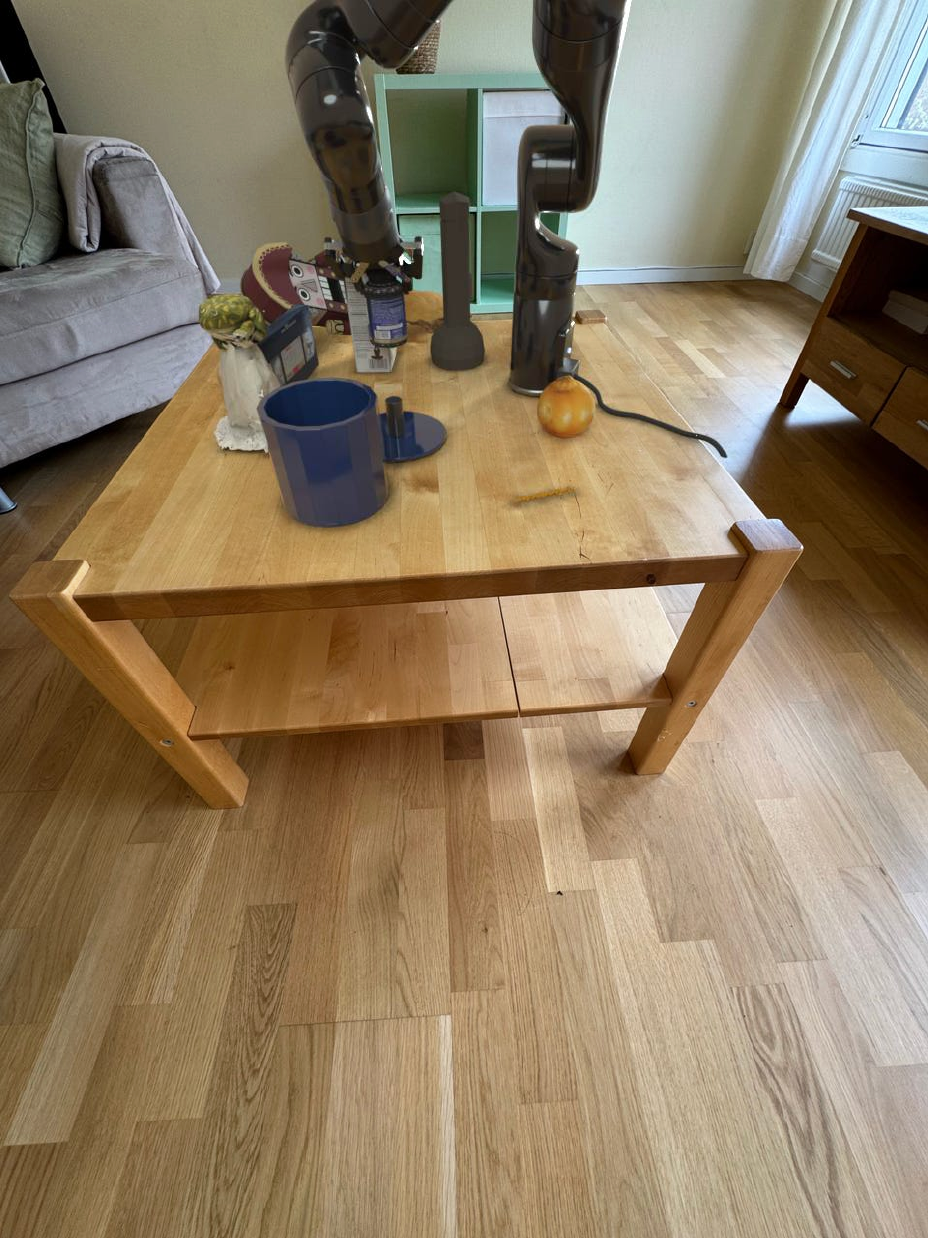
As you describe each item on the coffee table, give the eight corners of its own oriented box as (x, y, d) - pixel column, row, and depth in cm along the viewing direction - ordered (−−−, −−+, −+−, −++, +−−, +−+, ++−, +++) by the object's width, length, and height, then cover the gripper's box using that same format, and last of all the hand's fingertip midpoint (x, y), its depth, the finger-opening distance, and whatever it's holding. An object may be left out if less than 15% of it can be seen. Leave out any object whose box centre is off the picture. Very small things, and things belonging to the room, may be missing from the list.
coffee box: (363, 353, 107) (350, 254, 95) (397, 353, 107) (388, 253, 95) (356, 373, 100) (341, 269, 89) (392, 373, 100) (381, 269, 89)
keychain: (574, 490, 72) (571, 494, 73) (571, 483, 72) (568, 487, 73) (516, 502, 70) (515, 506, 71) (514, 495, 70) (512, 499, 71)
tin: (405, 479, 75) (396, 386, 67) (357, 536, 67) (339, 438, 58) (319, 462, 79) (299, 371, 70) (263, 514, 70) (232, 418, 61)
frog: (199, 436, 84) (148, 300, 71) (270, 405, 91) (236, 276, 78) (247, 462, 79) (201, 320, 66) (319, 427, 86) (291, 292, 72)
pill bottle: (415, 341, 92) (410, 263, 84) (387, 352, 89) (379, 272, 81) (390, 332, 95) (383, 256, 87) (362, 342, 92) (351, 264, 84)
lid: (460, 426, 86) (459, 386, 82) (422, 473, 77) (419, 430, 72) (376, 412, 90) (371, 373, 85) (330, 455, 80) (322, 413, 76)
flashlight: (436, 373, 100) (491, 367, 101) (427, 198, 82) (494, 194, 83) (426, 353, 107) (477, 347, 108) (416, 187, 89) (477, 183, 90)
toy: (428, 315, 108) (282, 284, 88) (390, 351, 117) (251, 331, 97) (407, 245, 108) (257, 198, 88) (372, 287, 117) (229, 253, 97)
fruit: (517, 416, 83) (549, 373, 77) (544, 400, 88) (575, 359, 82) (556, 457, 83) (591, 417, 77) (580, 438, 88) (615, 400, 82)
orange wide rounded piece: (480, 332, 117) (455, 302, 120) (485, 313, 114) (460, 282, 117) (407, 344, 110) (383, 312, 113) (411, 324, 106) (386, 291, 109)
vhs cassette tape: (277, 410, 90) (260, 344, 83) (259, 408, 91) (241, 342, 84) (322, 364, 103) (311, 304, 96) (307, 363, 103) (294, 303, 96)
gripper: (421, 181, 71) (431, 264, 88) (306, 182, 71) (338, 264, 88) (420, 241, 71) (431, 313, 88) (306, 242, 71) (338, 313, 88)
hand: (385, 288), depth 88 cm, fingers closed on pill bottle, 6 cm apart
